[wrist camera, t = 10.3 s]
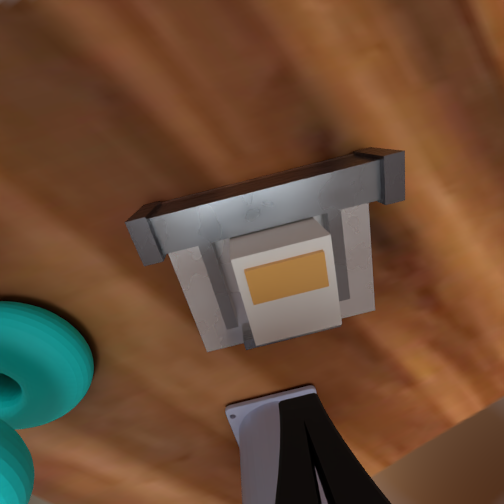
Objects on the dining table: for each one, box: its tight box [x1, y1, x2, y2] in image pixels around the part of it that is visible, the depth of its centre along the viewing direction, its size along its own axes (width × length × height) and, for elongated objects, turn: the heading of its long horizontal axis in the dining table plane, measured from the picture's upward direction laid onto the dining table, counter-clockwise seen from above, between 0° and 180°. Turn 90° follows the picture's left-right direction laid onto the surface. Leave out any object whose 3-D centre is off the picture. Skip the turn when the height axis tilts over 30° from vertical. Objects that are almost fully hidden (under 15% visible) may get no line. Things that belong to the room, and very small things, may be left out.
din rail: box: [125, 147, 405, 352], centre depth 17 cm, size 12×14×4 cm
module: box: [230, 217, 342, 346], centre depth 16 cm, size 5×4×6 cm
